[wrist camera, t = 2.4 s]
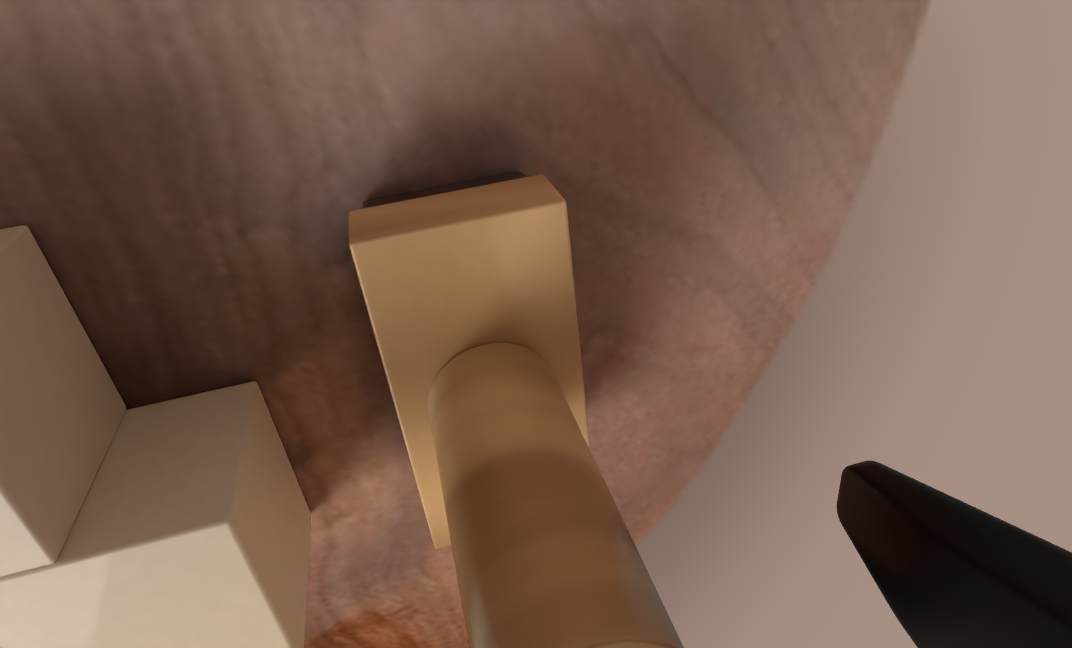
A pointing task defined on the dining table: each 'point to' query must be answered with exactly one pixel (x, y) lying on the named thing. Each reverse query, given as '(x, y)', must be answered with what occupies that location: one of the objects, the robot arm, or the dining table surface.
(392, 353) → the stamp
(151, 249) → the dining table surface
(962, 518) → the robot arm
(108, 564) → the paper block right
